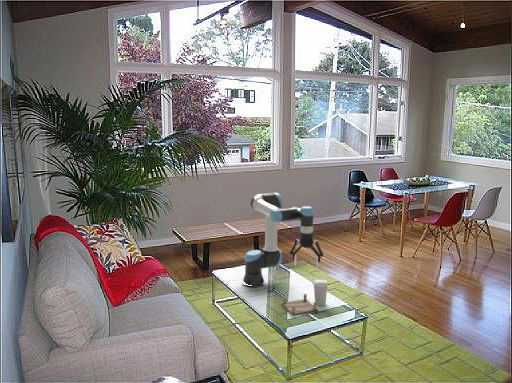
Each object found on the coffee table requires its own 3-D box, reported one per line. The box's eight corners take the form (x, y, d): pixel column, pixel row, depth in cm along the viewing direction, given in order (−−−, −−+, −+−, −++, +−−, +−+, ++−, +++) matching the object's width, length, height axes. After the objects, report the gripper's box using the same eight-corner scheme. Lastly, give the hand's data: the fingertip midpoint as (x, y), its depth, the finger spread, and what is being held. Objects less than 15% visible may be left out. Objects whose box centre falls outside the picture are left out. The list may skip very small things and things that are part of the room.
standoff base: (281, 304, 267) (281, 296, 266) (306, 300, 272) (306, 293, 272) (292, 315, 251) (292, 307, 250) (318, 311, 256) (318, 303, 256)
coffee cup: (311, 305, 265) (311, 282, 263) (314, 299, 274) (315, 277, 272) (326, 307, 262) (326, 284, 259) (329, 302, 270) (329, 279, 268)
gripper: (285, 232, 256) (285, 266, 259) (326, 235, 248) (326, 270, 251) (287, 229, 263) (287, 262, 266) (328, 232, 256) (327, 266, 259)
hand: (306, 266), depth 259 cm, fingers open, 13 cm apart
